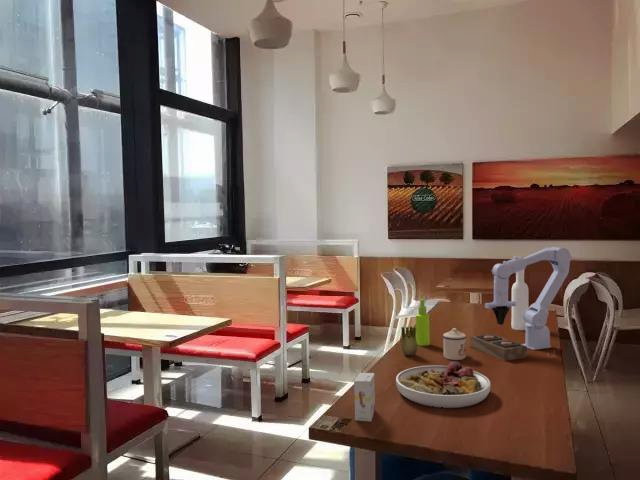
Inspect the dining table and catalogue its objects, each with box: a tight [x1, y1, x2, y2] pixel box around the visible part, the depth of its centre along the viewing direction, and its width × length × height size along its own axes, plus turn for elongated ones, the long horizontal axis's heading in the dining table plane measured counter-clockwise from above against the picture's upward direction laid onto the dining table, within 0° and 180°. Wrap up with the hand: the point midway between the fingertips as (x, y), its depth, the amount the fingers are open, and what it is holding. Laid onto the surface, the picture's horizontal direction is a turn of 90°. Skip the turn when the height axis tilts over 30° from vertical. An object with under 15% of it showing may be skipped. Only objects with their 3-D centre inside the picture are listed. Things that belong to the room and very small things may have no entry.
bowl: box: [395, 360, 492, 409], centre depth 174 cm, size 30×30×8 cm
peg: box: [501, 342, 512, 345], centre depth 215 cm, size 4×4×5 cm
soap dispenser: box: [415, 298, 431, 347], centre depth 235 cm, size 6×7×20 cm
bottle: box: [511, 269, 530, 331], centre depth 259 cm, size 8×8×30 cm
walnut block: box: [469, 333, 528, 362], centre depth 220 cm, size 11×22×5 cm, turn 20°
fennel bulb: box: [400, 325, 418, 357], centre depth 219 cm, size 6×5×12 cm
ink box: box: [353, 372, 376, 422], centre depth 157 cm, size 9×5×12 cm, turn 165°
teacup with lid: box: [442, 327, 467, 361], centre depth 216 cm, size 12×9×12 cm
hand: (500, 324), depth 225 cm, fingers closed
